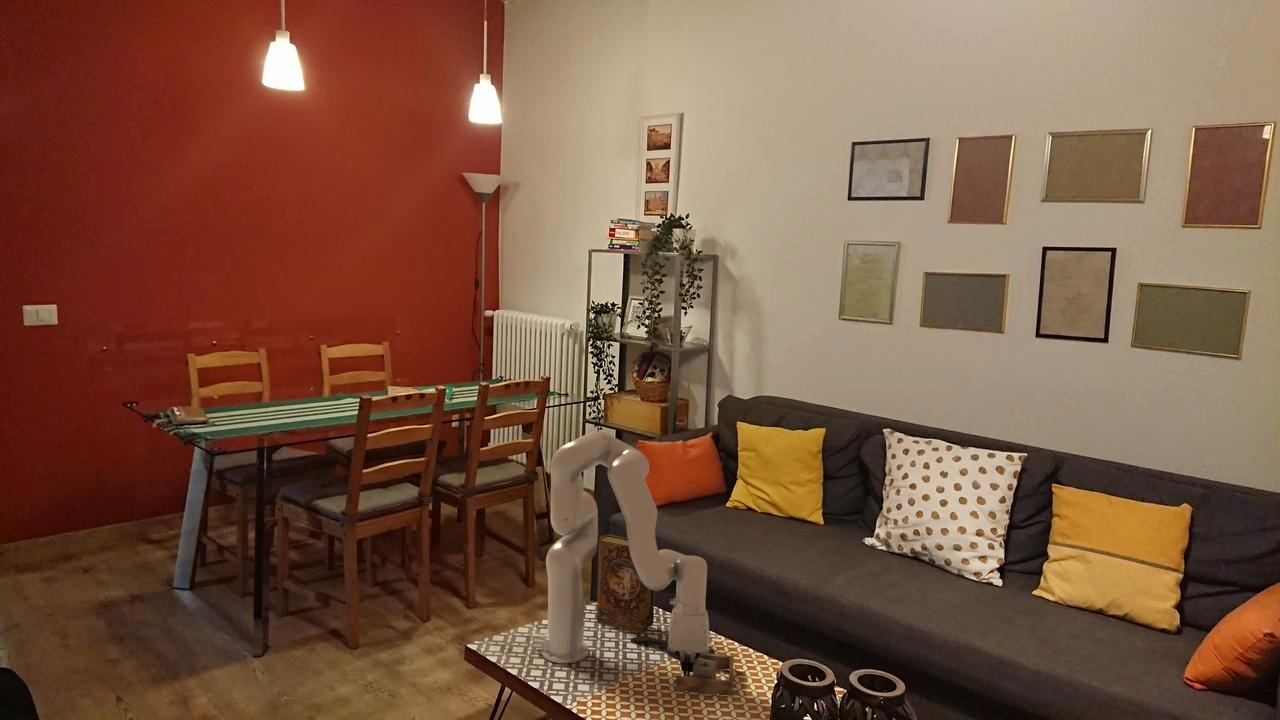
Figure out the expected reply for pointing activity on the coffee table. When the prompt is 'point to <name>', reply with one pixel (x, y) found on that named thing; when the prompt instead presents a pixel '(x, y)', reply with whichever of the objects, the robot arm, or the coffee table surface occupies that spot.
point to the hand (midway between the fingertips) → (686, 673)
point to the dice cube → (705, 669)
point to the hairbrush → (659, 642)
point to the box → (709, 684)
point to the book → (621, 588)
